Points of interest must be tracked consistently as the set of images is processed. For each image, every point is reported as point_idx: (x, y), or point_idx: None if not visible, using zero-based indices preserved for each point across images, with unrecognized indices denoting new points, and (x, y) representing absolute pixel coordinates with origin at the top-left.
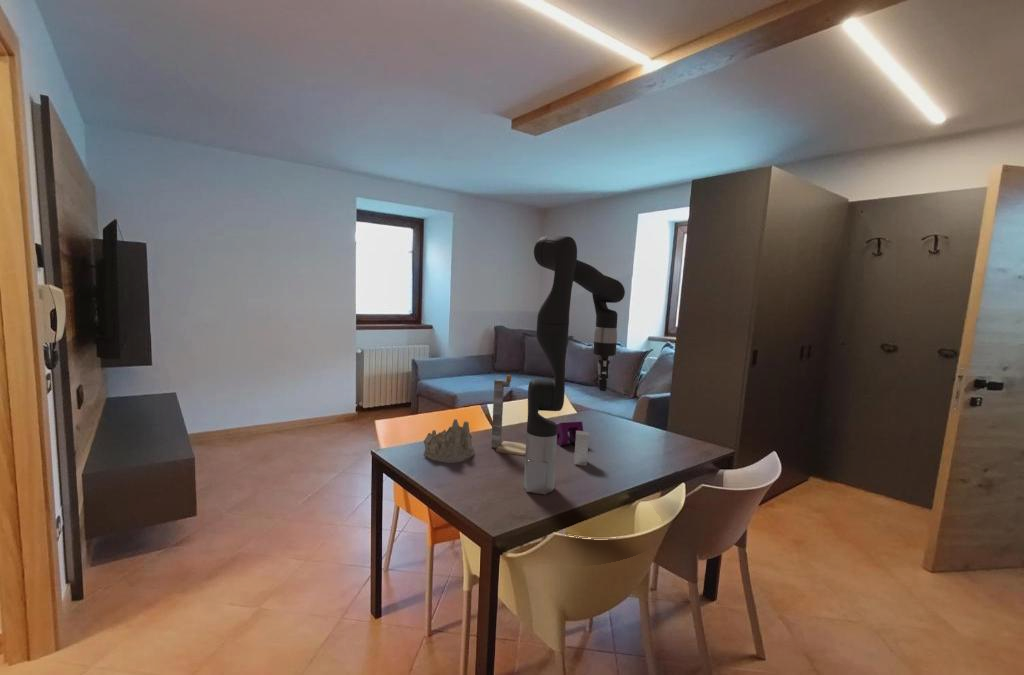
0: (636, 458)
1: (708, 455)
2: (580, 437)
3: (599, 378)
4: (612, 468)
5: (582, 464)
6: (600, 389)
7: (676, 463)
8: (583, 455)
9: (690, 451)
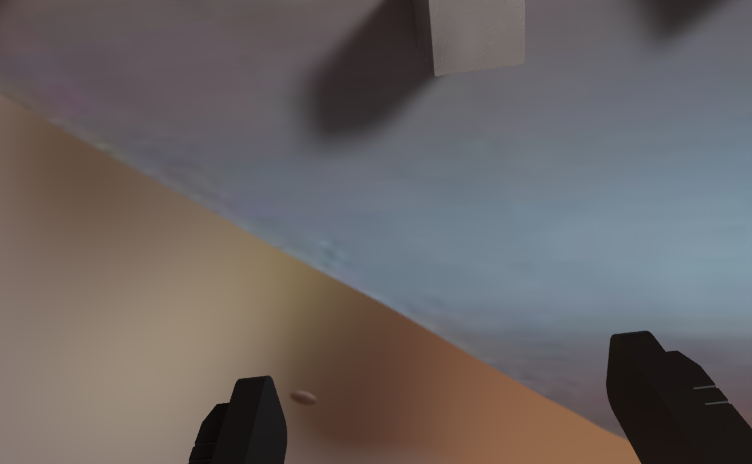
0: (595, 247)
1: None
2: (428, 14)
3: (677, 426)
4: (432, 162)
5: (415, 21)
6: (238, 394)
7: (576, 373)
8: (419, 29)
9: None
